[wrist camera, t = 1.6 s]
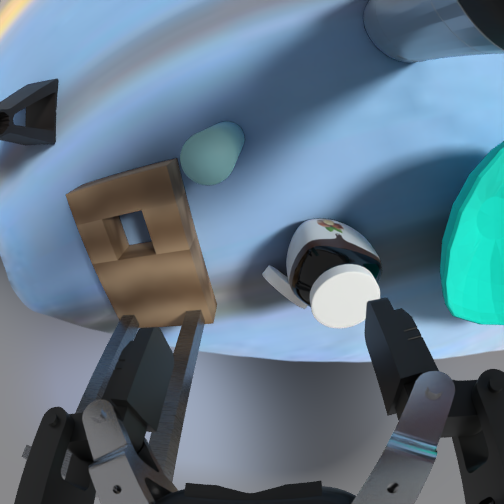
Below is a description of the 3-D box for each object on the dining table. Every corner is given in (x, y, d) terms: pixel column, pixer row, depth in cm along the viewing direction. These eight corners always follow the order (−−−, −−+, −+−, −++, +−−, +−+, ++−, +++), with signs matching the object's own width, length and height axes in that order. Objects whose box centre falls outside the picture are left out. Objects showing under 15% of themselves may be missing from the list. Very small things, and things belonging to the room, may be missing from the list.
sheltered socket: (82, 184, 33) (-92, 331, 7) (176, 157, 32) (-28, 356, 6) (135, 316, 43) (65, 485, 18) (218, 309, 42) (184, 518, 16)
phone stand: (55, 143, 30) (-7, 167, 20) (27, 144, 30) (-33, 168, 19) (59, 78, 26) (-6, 83, 15) (29, 84, 26) (-33, 93, 15)
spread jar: (370, 228, 35) (407, 280, 25) (337, 298, 40) (356, 359, 30) (281, 202, 34) (289, 249, 24) (256, 280, 39) (253, 343, 29)
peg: (205, 125, 30) (174, 138, 19) (241, 118, 29) (229, 126, 19) (212, 159, 32) (187, 189, 21) (247, 152, 31) (239, 180, 21)
